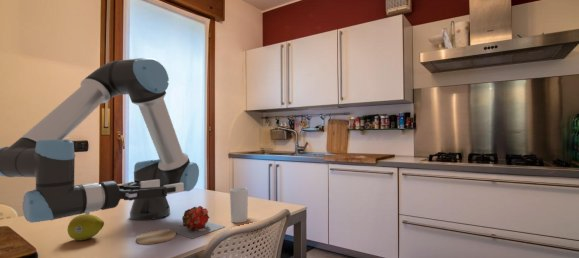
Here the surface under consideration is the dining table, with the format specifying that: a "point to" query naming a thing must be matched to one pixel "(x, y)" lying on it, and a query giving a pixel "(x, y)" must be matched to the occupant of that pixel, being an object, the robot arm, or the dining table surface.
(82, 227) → the green mango
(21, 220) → the dining table surface
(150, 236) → the coaster
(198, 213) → the dragon fruit
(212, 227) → the grey square tile
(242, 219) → the mug
